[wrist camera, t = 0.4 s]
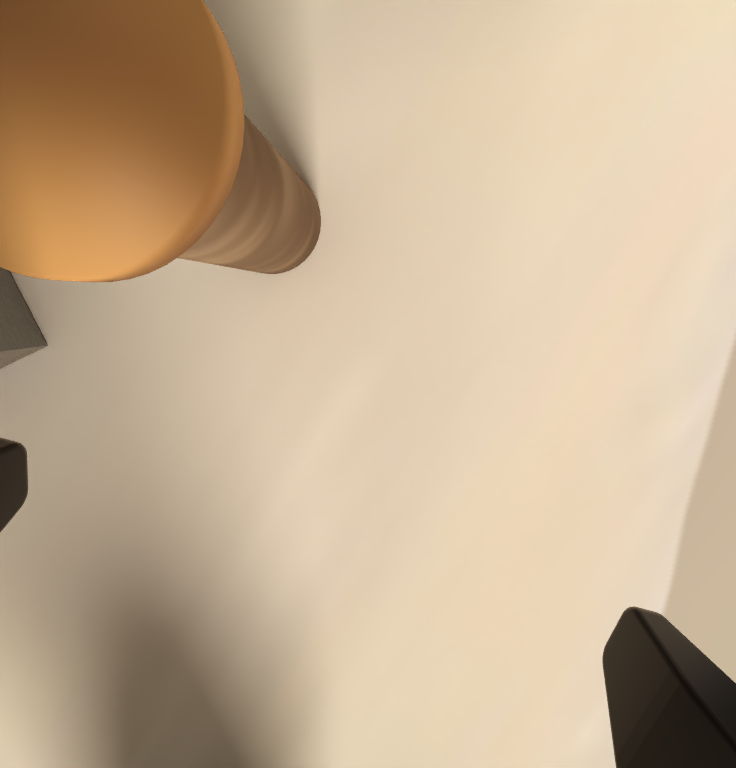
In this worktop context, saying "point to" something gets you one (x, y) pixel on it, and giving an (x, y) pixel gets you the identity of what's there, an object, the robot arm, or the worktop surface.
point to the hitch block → (16, 323)
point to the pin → (135, 147)
